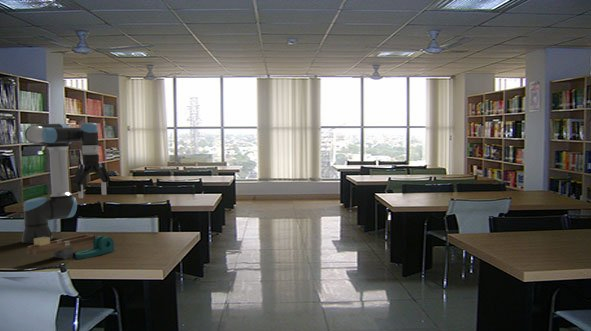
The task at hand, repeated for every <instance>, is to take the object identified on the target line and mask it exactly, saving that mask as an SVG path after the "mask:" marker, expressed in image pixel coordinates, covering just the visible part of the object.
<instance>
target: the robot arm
mask: <svg viewBox="0 0 591 331" xmlns="http://www.w3.org/2000/svg"><path fill="white" fill-rule="evenodd" d="M24 137H25V140H26V141H28V142H29V143H30V144H34V145H41V146H44V145H45V146H46V148H45V149H47V150H48V151H49V159H50V172H51V173H50V174H51V175H50V176H51V187H52V188H51V189H52V193H51V194H50V195H49V199H48V198H47V197H44V196H43V197H42V196H41V197H36V198H32V199H27V200H26V201H24V202H23V221H24V230H23V233H22V236H21V243H23V244H34V238H39V237H44V236H45V237H50V241H53V239H54V238H53V237H54V236H53V233H52V231H51V229H50V227H49V221H53V220H54V221H55V220H61V219H62V220H63V219H68V218H69V219H70V218H73V217H74V216H75V215H76V212H77V209H78V202H77V198H76V197H75V196H73V193H71V192H70V184H69V171H68V169H69V168H68V156H67V154H68V153H67V151H68V149H69V148H70V145H71V144H72V143H81V145H82V146H81V148H82V150H81V153H82V154H83V155H82V161H83V164H79V163H78V165H77V169H76V172H75V175H74V178H73V180H72V184H74V186H75V185H76V192H77V193H78V199H83V198H84V185H83V182H84V181H85V179H86V178H87V176H88V175H89V174H92V173H94V174H96V175H97V176H98V178H99V179H100V180H101V182H100V185H101V186H100V187H101V190H100V191H101V195H103V196H106V195H107V188H108V182H109V181H111V177H110V176H109V173H108V171H107V169H106V167H105V163H104V162H100V154H99V152H100V150H99V149H100V148H99V126H98V124H97V123H95V122H81V127H70V126H69V125H68V124H65V123H38V124H32V125H30V126H28V127H26V129H25V131H24Z"/></svg>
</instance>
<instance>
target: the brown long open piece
mask: <svg viewBox="0 0 591 331" xmlns="http://www.w3.org/2000/svg"><path fill="white" fill-rule="evenodd" d="M95 238H96V235H95V234H94V235H93V234H85V233H84V234H80V235H75V236H71V237H65V238H61V239H56V240H50V245H46V246H41V247H34V244H32V245H28V246H26V254H27V255H32V256H33V255H34V256H40V255H45V254H48V253H53V257H54V258H56V259H57V258H58V259H63V260H66V259H71V258H74V252H73V251H74V250H73V248H75V247H79V246H83V245H89V244H92V243H93V242H94V239H95Z"/></svg>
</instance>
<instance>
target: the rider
mask: <svg viewBox="0 0 591 331" xmlns="http://www.w3.org/2000/svg"><path fill="white" fill-rule="evenodd" d="M50 242H51V240H50V237H45V236H44V237H39V238H34V243H33V245H34V247H41V246H46V245H50Z"/></svg>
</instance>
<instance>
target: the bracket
mask: <svg viewBox="0 0 591 331" xmlns="http://www.w3.org/2000/svg"><path fill="white" fill-rule="evenodd" d="M114 241H115V240H114V239H113V238H112V237H110V236H102V235H98V236H95V239H94V242H93V245H92V246H93V247H92V248H90V249H86V250H82V251H77V252H75V254H74V255H75V256H74V257H75V259H76V258H77V259H76V260H82V259H83V258H84V259H88V258H92V257H93V258H94V257H97V256H100V255H101V256H102V255H105V254H108V253H113V251H114V252H115V243H114Z"/></svg>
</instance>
